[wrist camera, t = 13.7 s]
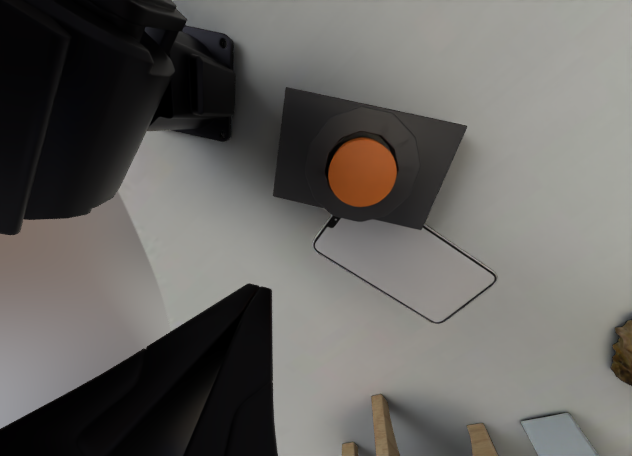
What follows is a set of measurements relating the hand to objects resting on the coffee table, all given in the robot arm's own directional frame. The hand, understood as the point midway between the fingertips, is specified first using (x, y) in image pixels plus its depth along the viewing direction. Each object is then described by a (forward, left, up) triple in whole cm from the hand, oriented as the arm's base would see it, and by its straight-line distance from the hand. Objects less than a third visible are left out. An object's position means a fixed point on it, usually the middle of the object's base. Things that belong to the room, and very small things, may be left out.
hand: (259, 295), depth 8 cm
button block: (+3, +4, -12) cm, 13 cm away
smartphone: (+9, -4, -13) cm, 16 cm away
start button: (+3, +3, -8) cm, 10 cm away
